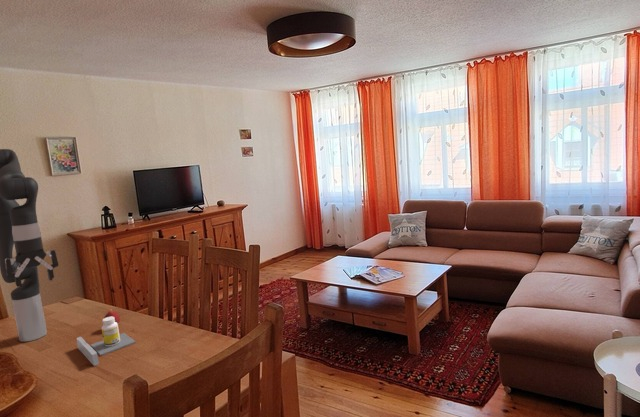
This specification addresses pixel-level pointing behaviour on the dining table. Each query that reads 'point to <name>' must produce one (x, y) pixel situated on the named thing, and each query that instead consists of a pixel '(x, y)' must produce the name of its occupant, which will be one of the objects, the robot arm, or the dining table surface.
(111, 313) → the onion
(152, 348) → the dining table surface
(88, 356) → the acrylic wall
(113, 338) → the supplement bottle
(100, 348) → the slate mat
